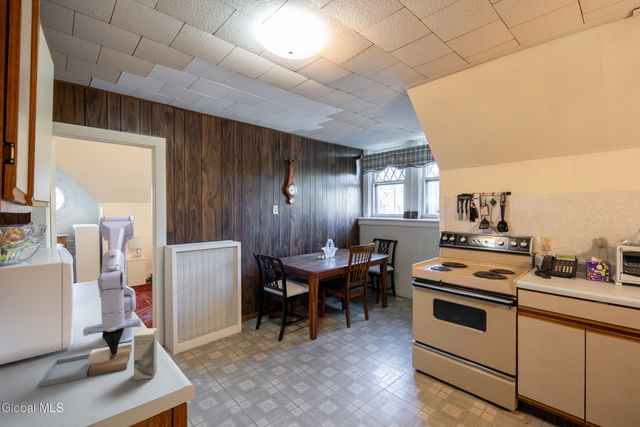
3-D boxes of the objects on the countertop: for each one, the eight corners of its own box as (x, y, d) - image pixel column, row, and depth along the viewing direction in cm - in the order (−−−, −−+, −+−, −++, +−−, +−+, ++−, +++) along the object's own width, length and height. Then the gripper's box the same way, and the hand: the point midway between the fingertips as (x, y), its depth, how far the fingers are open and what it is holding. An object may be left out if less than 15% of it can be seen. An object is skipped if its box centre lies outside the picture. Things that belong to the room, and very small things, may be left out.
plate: (98, 356, 95) (98, 350, 95) (131, 350, 99) (131, 344, 99) (88, 376, 85) (88, 370, 84) (126, 369, 89) (126, 362, 88)
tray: (55, 364, 91) (55, 359, 91) (96, 356, 95) (96, 352, 95) (40, 387, 80) (40, 381, 80) (86, 377, 84) (86, 372, 84)
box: (133, 381, 83) (132, 335, 82) (138, 372, 87) (137, 329, 86) (154, 378, 84) (153, 333, 83) (158, 369, 88) (157, 327, 88)
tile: (92, 356, 92) (92, 349, 92) (112, 352, 94) (111, 346, 94) (88, 364, 87) (88, 357, 87) (109, 360, 89) (108, 354, 89)
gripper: (79, 319, 84) (81, 365, 85) (139, 310, 91) (140, 353, 92) (85, 310, 91) (87, 353, 92) (141, 303, 97) (142, 343, 98)
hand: (114, 353), depth 92 cm, fingers closed
